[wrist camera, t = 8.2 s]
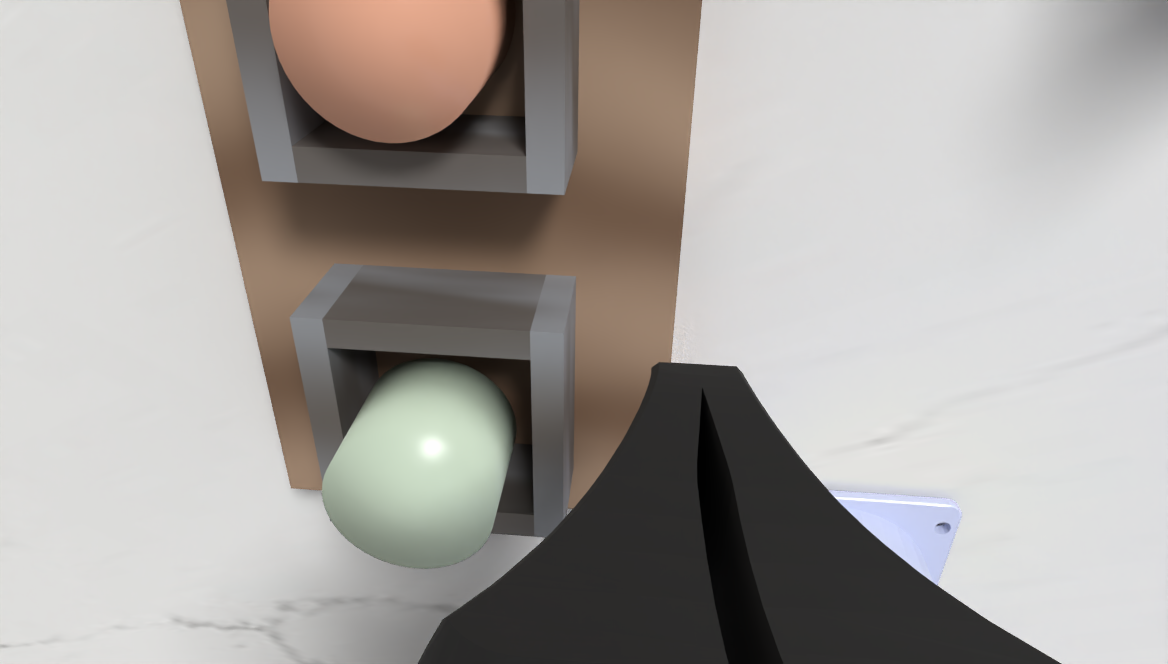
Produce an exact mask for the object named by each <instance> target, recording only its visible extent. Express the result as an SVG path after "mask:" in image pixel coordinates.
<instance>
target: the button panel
mask: <svg viewBox="0 0 1168 664" xmlns="http://www.w3.org/2000/svg"><path fill="white" fill-rule="evenodd" d="M180 4H181V9H182V13H183V17H184V22H185V26H186V30H187V35H188V39H189V44H190V48H191V52H192V57H193V61H194V65H195V70H196V74H197V79H198V83H199V87H200V92H201V96H202V101H203V105H204V109H205V114H206V118H207V122H208V127H209V131H210V136H211V140H212V144H213V149H214V153H215V157H216V162H217V166H218V171H219V175H220V179H221V184H222V188H223V192H224V197H225V201H226V206H227V210H228V214H229V219H230V223H231V227H232V232H233V236H234V241H235V245H236V249H237V254H238V258H239V262H240V267H241V271H242V276H243V280H244V284H245V289H246V293H247V297H248V302H249V306H250V311H251V315H252V319H253V324H254V328H255V332H256V337H257V341H258V346H259V350H260V354H261V359H262V363H263V368H264V372H265V376H266V381H267V385H268V389H269V394H270V398H271V403H272V407H273V411H274V416H275V420H276V424H277V429H278V433H279V438H280V442H281V446H282V451H283V455H284V459H285V464H286V468H287V473H288V477H289V481H290V486H291V488H296V489H309V490H322V483H323V479H324V475H325V473H326V470H327V468H328V466H329V464H330V463H331V461H332V459H333V457H334V456H335V454H336V452H337V450H338V448H339V447H340V445H341V443H342V441H343V439H344V438H345V436H346V434H347V432H348V431H349V429H350V427H351V425H352V423H353V422H354V420H355V418H356V416H357V415H358V413H359V411H360V409H361V407H362V406H363V404H364V402H365V400H366V398H367V397H368V395H369V393H370V391H371V390H372V388H373V386H374V385H375V383H376V382H377V380H378V379H379V378H380V377H381V376H382V375H383V374H384V373H386V372H387V371H388V370H390V369H391V368H393V367H395V366H397V365H399V364H401V363H404V362H407V361H411V360H415V359H424V358H437V359H446V360H450V361H454V362H458V363H461V364H464V365H467V366H469V367H471V368H473V369H475V370H477V371H478V372H480V373H482V374H483V375H485V376H486V377H488V378H489V379H490V380H491V381H493V382H494V383H495V384H496V385H497V386H498V387H499V388H500V389H501V391H502V392H503V393H504V394H505V396H506V397H507V399H508V401H509V402H510V404H511V407H512V409H513V411H514V415H515V418H516V426H517V430H516V439H515V443H514V447H513V451H512V455H511V459H510V462H509V466H508V470H507V474H506V478H505V482H504V486H503V490H502V493H501V497H500V501H499V505H498V509H497V513H496V517H495V521H494V524H493V528H492V531H491V533H495V534H508V535H521V536H534V537H547V536H548V535H549V534H550V533H551V532H552V531H553V530H554V529H555V528H556V527H557V526H558V525H559V524H560V522H561V521H562V520H563V519H564V518H565V517H566V516H567V509H568V508H570V509H573V508H574V507H575V506H576V505H577V504H578V502H579V501H580V500H581V499H582V497H583V496H584V495H585V494H586V492H587V491H588V490H589V489H590V487H591V486H592V485H593V483H594V482H595V481H596V479H597V478H598V477H599V475H600V474H601V472H602V471H603V470H604V468H605V467H606V465H607V464H608V462H609V460H610V459H611V457H612V456H613V454H614V453H615V451H616V449H617V448H618V446H619V445H620V443H621V442H622V440H623V438H624V436H625V435H626V433H627V431H628V429H629V427H630V425H631V423H632V421H633V419H634V417H635V415H636V413H637V412H638V410H639V407H640V405H641V403H642V400H643V398H644V396H645V393H646V390H647V387H648V384H649V381H650V377H651V368H652V367H653V366H654V365H656V364H657V363H658V362H668V363H671V354H672V342H673V331H674V319H675V308H676V296H677V285H678V273H679V261H680V250H681V238H682V227H683V215H684V204H685V192H686V180H687V169H688V157H689V146H690V134H691V123H692V111H693V100H694V88H695V76H696V65H697V53H698V42H699V30H700V19H701V7H702V0H515V27H514V33H513V38H512V41H511V45H510V48H509V50H508V53H507V55H506V57H505V59H504V61H503V63H502V64H501V66H500V67H499V69H498V70H497V71H496V73H495V74H494V75H493V76H492V77H491V79H490V80H489V81H488V82H487V83H486V85H485V86H484V87H483V88H482V89H481V91H480V92H479V93H478V94H477V96H476V97H475V98H474V99H473V100H472V102H471V103H470V104H469V105H468V106H467V108H466V109H465V110H464V111H463V112H462V114H461V115H460V116H459V117H458V118H457V119H456V120H455V121H453V122H452V123H451V124H450V125H449V126H447V127H446V128H444V129H443V130H441V131H440V132H438V133H435V134H433V135H431V136H429V137H427V138H423V139H420V140H417V141H412V142H406V143H383V142H375V141H371V140H367V139H363V138H360V137H357V136H355V135H352V134H350V133H348V132H346V131H344V130H342V129H340V128H338V127H336V126H335V125H333V124H332V123H330V122H329V121H327V120H325V119H324V118H323V117H322V116H321V115H319V114H318V113H317V112H316V111H315V110H314V109H313V108H312V107H311V106H310V105H309V104H308V103H307V102H306V101H305V100H304V99H303V98H302V97H301V95H300V94H299V93H298V92H297V90H296V89H295V88H294V86H293V85H292V83H291V81H290V80H289V78H288V77H287V75H286V73H285V71H284V69H283V67H282V65H281V63H280V61H279V58H278V55H277V53H276V50H275V47H274V43H273V39H272V35H271V30H270V22H269V0H180ZM330 521H331V519H330Z"/></svg>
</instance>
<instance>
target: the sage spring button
mask: <svg viewBox="0 0 1168 664" xmlns="http://www.w3.org/2000/svg"><path fill="white" fill-rule="evenodd" d="M516 430H517V426H516V418H515V415H514V411H513V409H512V407H511V404H510V402H509V401H508V399H507V397H506V396H505V394H504V393H503V392H502V391H501V389H500V388H499V387H498V386H497V385H496V384H495V383H494V382H493V381H491V380H490V379H489V378H488V377H486V376H485V375H483V374H482V373H480V372H478V371H477V370H475V369H473V368H471V367H469V366H467V365H464V364H461V363H458V362H454V361H450V360H446V359H437V358H424V359H415V360H411V361H407V362H404V363H401V364H399V365H397V366H395V367H393V368H391V369H390V370H388V371H387V372H386V373H384V374H383V375H382V376H381V377H380V378H379V379H378V380H377V382H376V383H375V385H374V386H373V388H372V390H371V391H370V393H369V395H368V397H367V398H366V400H365V402H364V404H363V406H362V407H361V409H360V411H359V413H358V415H357V416H356V418H355V420H354V422H353V423H352V425H351V427H350V429H349V431H348V432H347V434H346V436H345V438H344V439H343V441H342V443H341V445H340V447H339V448H338V450H337V452H336V454H335V456H334V457H333V459H332V461H331V463H330V464H329V466H328V468H327V470H326V473H325V475H324V479H323V483H322V497H323V502H324V506H325V509H326V511H327V514H328V516H329V518H330V519H331V521H332V523H333V524H334V526H335V527H336V528H337V529H338V531H339V532H340V533H341V534H342V535H343V536H344V537H345V538H346V539H347V540H348V541H350V542H351V543H352V544H353V545H355V546H356V547H357V548H359V549H360V550H362V551H364V552H365V553H367V554H369V555H371V556H373V557H375V558H377V559H380V560H382V561H385V562H388V563H391V564H394V565H399V566H403V567H409V568H422V569H429V568H440V567H446V566H449V565H453V564H456V563H459V562H461V561H463V560H465V559H467V558H469V557H471V556H472V555H473V554H475V553H476V552H477V551H478V550H480V548H481V547H482V546H483V545H484V544H485V543H486V541H487V539H488V538H489V536H490V534H491V531H492V528H493V524H494V521H495V517H496V513H497V509H498V505H499V501H500V497H501V493H502V490H503V486H504V482H505V478H506V474H507V470H508V466H509V462H510V459H511V455H512V451H513V447H514V443H515V439H516Z"/></svg>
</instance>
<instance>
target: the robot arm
mask: <svg viewBox="0 0 1168 664" xmlns="http://www.w3.org/2000/svg"><path fill="white" fill-rule="evenodd" d="M961 518H962V512H961V510H960V508H959V506H958V504H957V502H955V501H954V500H952V499H947V498H933V497H919V496H905V495H890V494H876V493H862V492H847V491H833V490H827V488H826V487H825V486H824V485H823V484H822V483H821V482H820V480H819V479H818V478H817V477H816V476H815V475H814V473H813V472H812V471H811V470H810V469H809V468H808V466H807V465H806V464H805V463H804V462H803V460H802V459H801V458H800V457H799V455H798V454H797V453H796V452H795V450H794V449H793V448H792V446H791V445H790V444H789V442H788V441H787V440H786V438H785V437H784V436H783V434H782V433H781V432H780V430H779V429H778V428H777V426H776V425H775V423H774V422H773V421H772V419H771V418H770V416H769V415H768V413H767V412H766V410H765V409H764V407H763V406H762V404H761V403H760V401H759V400H758V398H757V397H756V395H755V393H754V392H753V390H752V389H751V387H750V385H749V384H748V382H747V380H746V379H745V377H744V375H743V373H742V372H741V371H740V370H739V369H738V368H737V367H736V366H719V365H702V364H685V363H668V362H658V363H657V364H656V365H654V366H653V367H652V368H651V377H650V381H649V384H648V387H647V390H646V393H645V396H644V398H643V400H642V403H641V405H640V407H639V410H638V412H637V413H636V415H635V417H634V419H633V421H632V423H631V425H630V427H629V429H628V431H627V433H626V435H625V436H624V438H623V440H622V442H621V443H620V445H619V446H618V448H617V449H616V451H615V453H614V454H613V456H612V457H611V459H610V460H609V462H608V464H607V465H606V467H605V468H604V470H603V471H602V472H601V474H600V475H599V477H598V478H597V479H596V481H595V482H594V483H593V485H592V486H591V487H590V489H589V490H588V491H587V492H586V494H585V495H584V496H583V497H582V499H581V500H580V501H579V502H578V504H577V505H576V506H575V507H574V508H573V509H572V510H571V512H570V513H569V514H568V515H567V516H566V517H565V518H564V519H563V520H562V521H561V522H560V524H559V525H558V526H557V527H556V528H555V529H554V530H553V531H552V532H551V533H550V534H549V535H548V536H547V537H546V538H545V539H544V540H543V541H542V542H541V543H540V544H539V545H538V546H537V547H536V548H535V549H533V550H532V551H531V552H530V553H529V554H528V555H527V556H525V557H524V558H523V559H522V560H521V561H520V562H519V563H517V564H516V565H515V566H514V567H513V568H512V569H511V570H509V571H508V572H507V573H506V574H505V575H504V576H503V577H501V578H500V579H499V580H497V581H496V582H495V583H494V584H492V585H491V586H490V587H488V588H487V589H486V590H484V591H483V592H481V593H480V594H479V595H477V596H476V597H474V598H473V599H472V600H470V601H469V602H467V603H466V604H464V605H463V606H462V607H460V608H459V609H457V610H456V611H455V612H453V613H452V614H450V615H449V616H447V617H446V618H444V619H443V620H442V622H441V623H440V625H439V627H438V628H437V630H436V632H435V633H434V635H433V637H432V639H431V640H430V642H429V644H428V646H427V647H426V649H425V651H424V653H423V655H422V657H421V659H420V661H419V662H418V664H1061V663H1059V662H1058V661H1056V660H1054V659H1052V658H1051V657H1049V656H1047V655H1046V654H1044V653H1042V652H1041V651H1039V650H1037V649H1036V648H1034V647H1032V646H1030V645H1029V644H1027V643H1025V642H1024V641H1022V640H1020V639H1019V638H1017V637H1015V636H1013V635H1012V634H1010V633H1008V632H1007V631H1005V630H1003V629H1002V628H1000V627H998V626H997V625H995V624H993V623H992V622H990V621H988V620H987V619H985V618H984V617H982V616H981V615H979V614H978V613H976V612H975V611H973V610H972V609H970V608H969V607H968V606H966V605H965V604H963V603H962V602H960V601H959V600H957V599H956V598H954V597H953V596H951V595H950V594H948V593H947V592H946V591H944V590H943V589H941V588H940V587H939V586H938V583H939V580H940V577H941V574H942V571H943V569H944V566H945V563H946V560H947V557H948V554H949V552H950V549H951V546H952V543H953V540H954V537H955V535H956V532H957V529H958V526H959V523H960V520H961ZM944 522H945V524H943V525H939V526H936V525H937V524H939V523H944Z"/></svg>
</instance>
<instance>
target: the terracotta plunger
mask: <svg viewBox="0 0 1168 664" xmlns="http://www.w3.org/2000/svg"><path fill="white" fill-rule="evenodd" d="M269 22H270V30H271V35H272V39H273V43H274V47H275V50H276V53H277V55H278V58H279V61H280V63H281V65H282V67H283V69H284V71H285V73H286V75H287V77H288V78H289V80H290V81H291V83H292V85H293V86H294V88H295V89H296V90H297V92H298V93H299V94H300V95H301V97H302V98H303V99H304V100H305V101H306V102H307V103H308V104H309V105H310V106H311V107H312V108H313V109H314V110H315V111H316V112H317V113H318V114H319V115H321V116H322V117H323V118H324V119H325V120H327V121H329V122H330V123H332V124H333V125H335V126H336V127H338V128H340V129H342V130H344V131H346V132H348V133H350V134H352V135H355V136H357V137H360V138H363V139H367V140H371V141H375V142H383V143H406V142H412V141H417V140H420V139H423V138H427V137H429V136H431V135H433V134H435V133H438V132H440V131H441V130H443V129H444V128H446V127H447V126H449V125H450V124H451V123H452V122H453V121H455V120H456V119H457V118H458V117H459V116H460V115H461V114H462V112H463V111H464V110H465V109H466V108H467V106H468V105H469V104H470V103H471V102H472V100H473V99H474V98H475V97H476V96H477V94H478V93H479V92H480V91H481V89H482V88H483V87H484V86H485V85H486V83H487V82H488V81H489V80H490V79H491V77H492V76H493V75H494V74H495V73H496V71H497V70H498V69H499V67H500V66H501V64H502V63H503V61H504V59H505V57H506V55H507V53H508V50H509V48H510V45H511V41H512V38H513V33H514V27H515V0H269Z"/></svg>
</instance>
